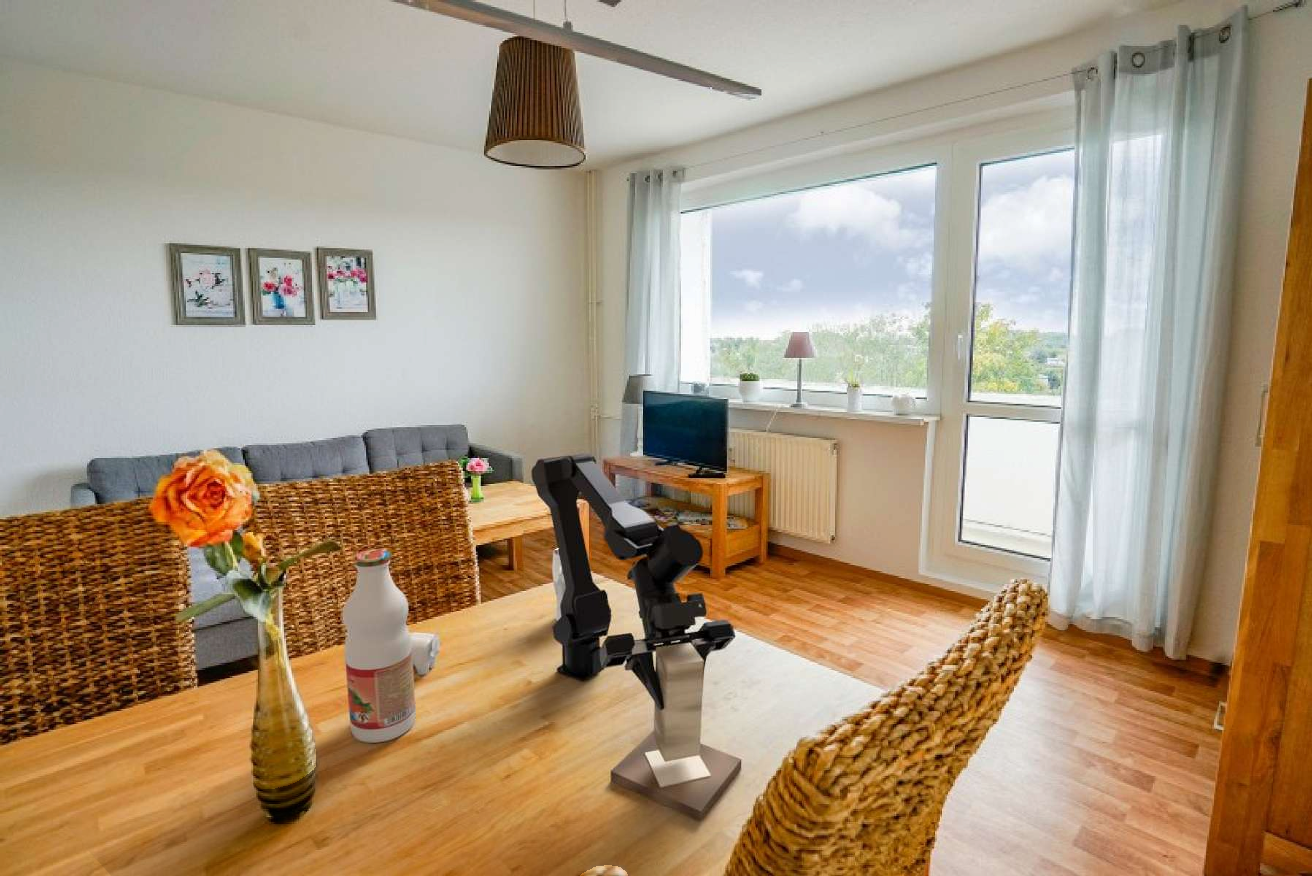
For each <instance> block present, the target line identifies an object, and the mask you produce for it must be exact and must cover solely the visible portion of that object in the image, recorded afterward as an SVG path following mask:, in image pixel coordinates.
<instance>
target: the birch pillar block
mask: <svg viewBox="0 0 1312 876" xmlns="http://www.w3.org/2000/svg"><path fill="white" fill-rule="evenodd" d="M703 666H704V660H703V659H702V658H701V656H700V655H699V654H698V652H697V651H696V650H695V648H694V647H693V646H692V644H691V643H685V644H677V645H670V646H663V647H656V652H655V672H656V675H657V679H658V682H659V686H660V689H661V693H662V697H663V703H664V709H663V710H659V708H658V706H657V705H656V703H655V702H654V705H653V708H654V709H653V710H654V712H653V714H654V715H653V730H654V741H655V743H656V745H657V747H658V749H659V751H660V753H661V755H662V757H663V759H664V761H665V762H667V761H672V760H677V759H682V758H688V757H693V756H698V755H700V743H701V736H702V734H701V733H702V731H701V730H702V711H703V710H702V708H703V707H702V706H703V693H702V689H704V680H703Z"/></svg>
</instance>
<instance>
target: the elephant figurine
mask: <svg viewBox="0 0 1312 876" xmlns="http://www.w3.org/2000/svg"><path fill="white" fill-rule="evenodd" d="M410 636H411V643H412V660H413V672H414V667H415V669H416V671H417V674H418V675H420V676H425V675H428V674H429V671H430V669H433V668H434V667H435V665H436V662H437V656H438V654H439V653H440V651H441V650H440V646H443V643H442V642H440V639H439V637H440V636H439V632H435V633H424V632H416V631H415V632H410Z"/></svg>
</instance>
